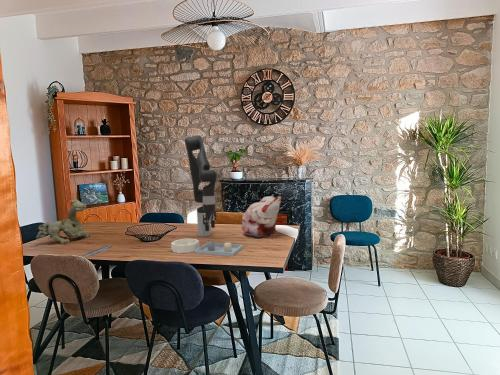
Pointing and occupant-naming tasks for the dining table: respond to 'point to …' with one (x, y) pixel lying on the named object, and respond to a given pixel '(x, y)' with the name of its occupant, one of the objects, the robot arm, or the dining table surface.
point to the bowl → (185, 245)
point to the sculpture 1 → (65, 226)
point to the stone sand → (227, 247)
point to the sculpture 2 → (261, 217)
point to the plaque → (97, 251)
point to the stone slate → (211, 245)
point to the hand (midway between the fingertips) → (210, 229)
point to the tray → (219, 249)
